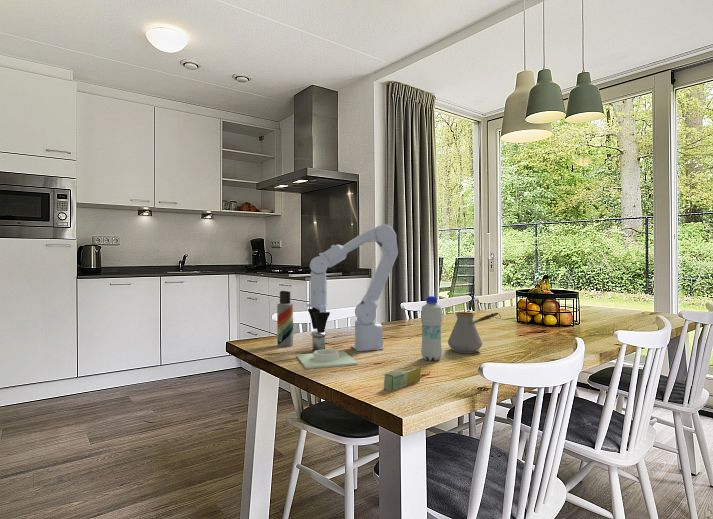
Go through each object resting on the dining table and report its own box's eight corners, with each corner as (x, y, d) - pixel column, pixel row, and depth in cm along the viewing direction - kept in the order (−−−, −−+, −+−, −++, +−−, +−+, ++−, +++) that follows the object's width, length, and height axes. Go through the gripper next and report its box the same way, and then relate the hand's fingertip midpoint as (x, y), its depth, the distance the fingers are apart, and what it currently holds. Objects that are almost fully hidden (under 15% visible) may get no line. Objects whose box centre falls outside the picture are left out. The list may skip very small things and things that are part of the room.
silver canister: (324, 347, 155) (324, 331, 155) (327, 351, 150) (327, 333, 150) (309, 348, 153) (309, 331, 153) (313, 352, 148) (312, 334, 148)
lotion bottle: (274, 346, 157) (273, 291, 157) (282, 343, 163) (282, 289, 162) (288, 347, 155) (287, 291, 155) (296, 344, 161) (295, 290, 160)
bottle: (443, 357, 140) (443, 295, 140) (440, 362, 134) (440, 297, 133) (422, 355, 142) (422, 294, 142) (418, 360, 136) (418, 296, 135)
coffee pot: (440, 349, 152) (440, 306, 152) (466, 345, 157) (466, 304, 157) (484, 363, 133) (484, 314, 132) (512, 358, 138) (512, 311, 138)
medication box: (391, 392, 106) (392, 376, 106) (383, 389, 108) (383, 373, 108) (420, 382, 115) (421, 366, 115) (412, 379, 117) (412, 364, 117)
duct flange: (343, 352, 147) (343, 345, 147) (358, 364, 132) (358, 356, 132) (296, 356, 142) (296, 348, 142) (305, 369, 127) (305, 360, 127)
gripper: (303, 289, 157) (303, 327, 157) (311, 293, 143) (311, 334, 143) (322, 289, 159) (322, 326, 159) (332, 293, 145) (332, 333, 145)
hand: (318, 330), depth 151 cm, fingers open, 7 cm apart
